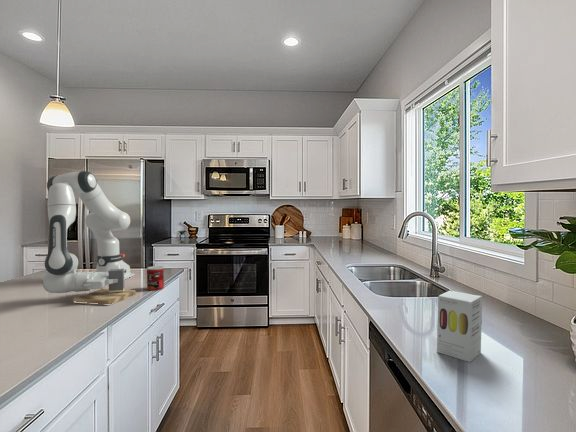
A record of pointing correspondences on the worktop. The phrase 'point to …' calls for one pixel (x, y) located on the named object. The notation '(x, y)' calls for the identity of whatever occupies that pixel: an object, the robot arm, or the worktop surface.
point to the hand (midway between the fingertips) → (118, 279)
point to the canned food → (155, 278)
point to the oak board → (105, 296)
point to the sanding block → (120, 276)
